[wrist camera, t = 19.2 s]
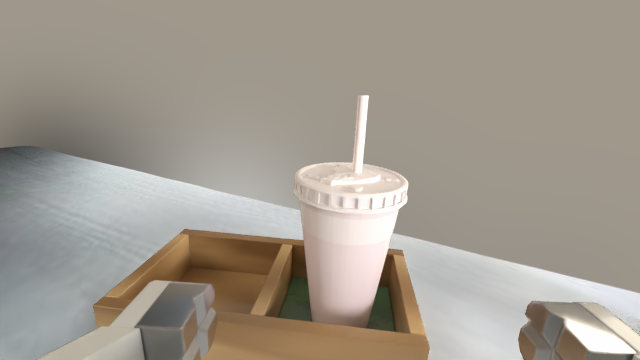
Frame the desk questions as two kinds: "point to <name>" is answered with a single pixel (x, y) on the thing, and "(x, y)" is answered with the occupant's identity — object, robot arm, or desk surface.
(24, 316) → the desk surface
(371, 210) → the smoothie
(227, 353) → the tray
